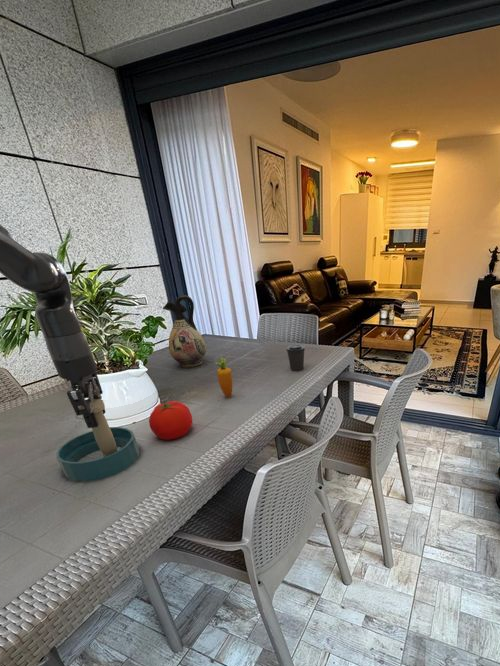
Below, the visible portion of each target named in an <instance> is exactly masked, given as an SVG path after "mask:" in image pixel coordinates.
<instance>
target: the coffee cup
mask: <svg viewBox="0 0 500 666" xmlns="http://www.w3.org/2000/svg"><path fill="white" fill-rule="evenodd" d="M305 350H306V346H304V345H302V344H301V345H300V344H292V345H289V346H287V347H286V348H285V351H287V357H288V362H289V367H290V371H292V372H301V371H303V370H304V362H305Z"/></svg>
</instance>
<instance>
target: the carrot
mask: <svg viewBox="0 0 500 666" xmlns="http://www.w3.org/2000/svg"><path fill="white" fill-rule="evenodd" d="M219 360H220V363H219V362H214V364H215V365H217V366H218V367H219V368H218V369H217V372H216V374H217V375H216V376H217V379H218V383H219V386H220V389H221V391H222V393H223V395H224V397H225V398H227V399H230V398H231V397H232V394H233V375H232V369H231V368H230V367H227V366H226V365H227V359H225V358H224V357H222V356H220V357H219Z"/></svg>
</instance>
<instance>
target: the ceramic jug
mask: <svg viewBox="0 0 500 666" xmlns="http://www.w3.org/2000/svg"><path fill="white" fill-rule="evenodd" d="M182 301H184V302H188V303H189V314H188V318H187V317H186V315H185V314H184V313H185V312H187V310H188V309H187V307H185V306H184V305H183V304H182V303H181V302H182ZM162 309H163V310H165V311H169V312H172V313H174V314H175V321H174V323H173V325H172V328H171V331H170V333H169V336H168V350H169V354H170V355H171V357H172V358H173V360H175V361H176V362H177V363H178V364H180V367H182V368H194V367H198V366H200V365H202V364H203V359H204V357H205V355H206V353H207V347H206V346H207V345H206V342H205V340H204V337H203V336H202V335H201V333H200V332H199V330H198V328H197V327H196V324H195V322H194V311H195V303H194V301H193V299H192V298H191V297H190V296H189V295H186V294H181V295H179V296H177V297H176V300H175V301H173V299H168V301H167V302H166V303H165V305H163V307H162Z"/></svg>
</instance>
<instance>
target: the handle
mask: <svg viewBox="0 0 500 666" xmlns="http://www.w3.org/2000/svg"><path fill="white" fill-rule="evenodd" d="M87 405H88V403H87ZM92 406H93V412H94V414H95V416H96V419H97V421H98V424H99V425H98V427H95V428H91V431H93V433H94V436H95V440H96V442H97V444H98V446H99V448H100V450H99V451H100V452H101V454H102V457H105V456H108V455H110V454H112V453H114V452H116V451H118V450H119V449H118V447H116V443H115V439H114V437H113V434H112V432H111V429H110V425H109V423H108V421H107V419H106V415H105V414H103V410H104V409H105V410H106V405H105V402H104V400H103V399H94V402H93V403H92ZM83 409H84V407H83Z"/></svg>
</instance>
